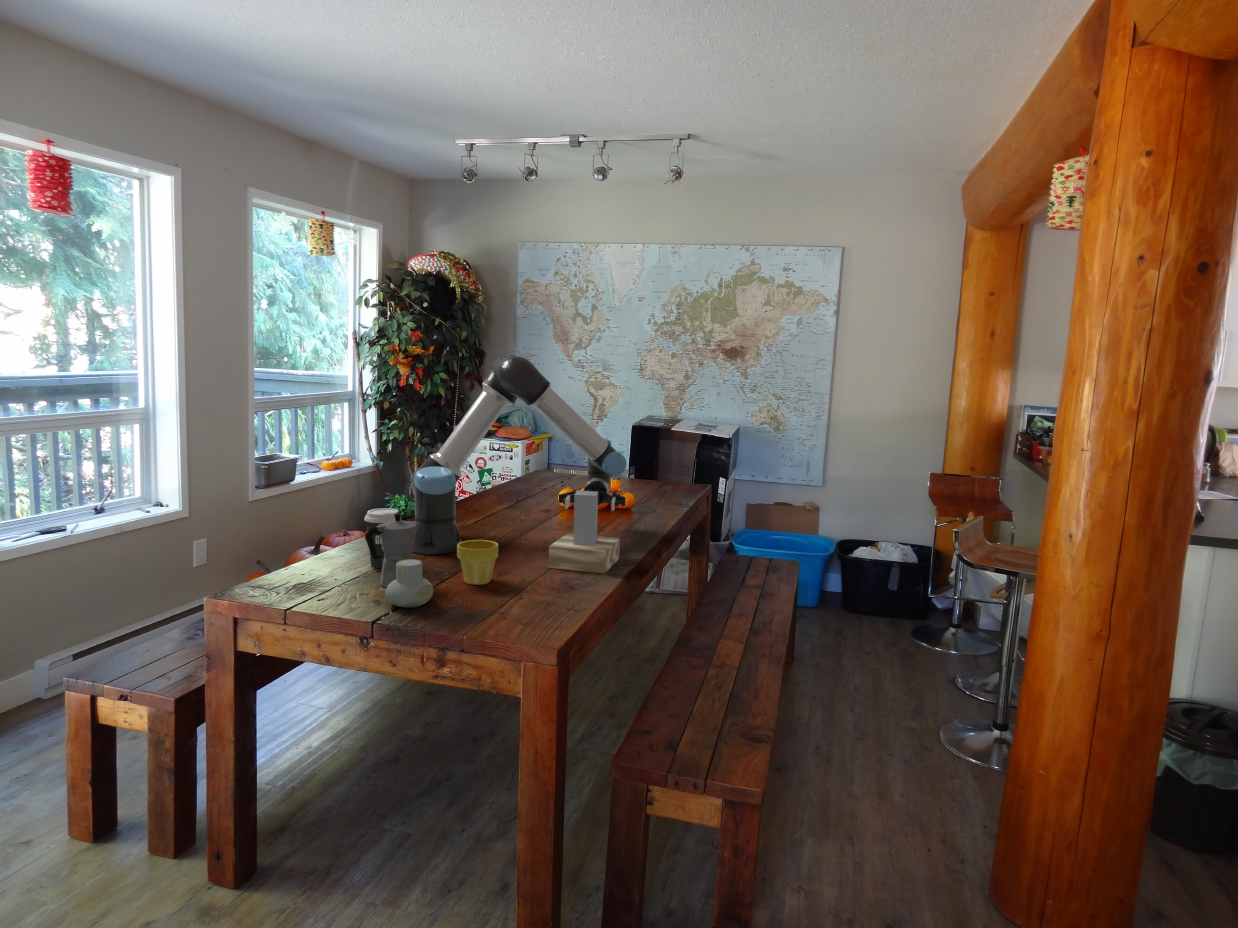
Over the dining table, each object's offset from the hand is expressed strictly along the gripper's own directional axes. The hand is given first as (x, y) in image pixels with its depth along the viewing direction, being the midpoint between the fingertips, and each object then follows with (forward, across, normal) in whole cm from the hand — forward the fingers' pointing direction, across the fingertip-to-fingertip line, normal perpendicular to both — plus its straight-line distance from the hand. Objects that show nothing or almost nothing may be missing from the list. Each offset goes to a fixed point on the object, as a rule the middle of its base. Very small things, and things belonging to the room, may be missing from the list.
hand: (589, 505), depth 229 cm
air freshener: (+51, +37, -15) cm, 64 cm away
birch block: (+10, 0, -15) cm, 18 cm away
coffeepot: (+37, +45, -15) cm, 60 cm away
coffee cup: (+21, +54, -15) cm, 60 cm away
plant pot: (+31, +25, -15) cm, 43 cm away
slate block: (+10, 0, -9) cm, 13 cm away
